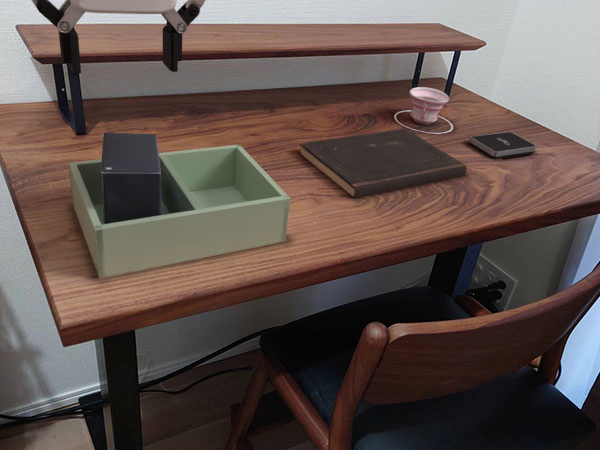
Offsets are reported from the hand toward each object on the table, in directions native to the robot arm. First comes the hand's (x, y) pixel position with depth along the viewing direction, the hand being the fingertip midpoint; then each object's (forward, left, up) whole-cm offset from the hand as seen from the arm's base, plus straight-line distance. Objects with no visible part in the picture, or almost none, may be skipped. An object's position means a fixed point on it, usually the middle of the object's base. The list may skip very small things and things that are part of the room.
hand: (124, 69), depth 57 cm
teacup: (+40, +54, -21) cm, 70 cm away
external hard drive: (+54, +46, -21) cm, 73 cm away
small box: (0, 0, -20) cm, 20 cm away
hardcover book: (+31, +30, -21) cm, 48 cm away
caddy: (+5, +3, -20) cm, 21 cm away
